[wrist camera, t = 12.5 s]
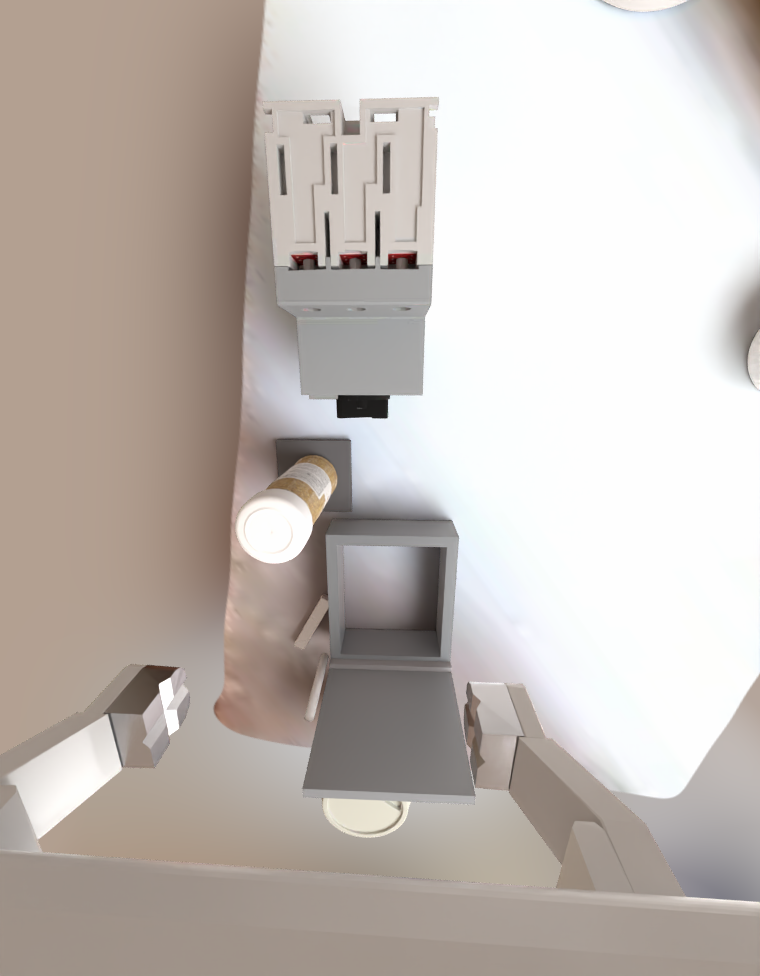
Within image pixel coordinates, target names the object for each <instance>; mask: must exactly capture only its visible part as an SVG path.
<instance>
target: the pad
mask: <svg viewBox="0 0 760 976" xmlns="http://www.w3.org/2000/svg"><path fill="white" fill-rule="evenodd" d="M276 451H277V464H278V476H279V477H280V476H281V475H282V474H284V473H285V472H286V471H287V470H288V469H290V468H291V467H292V466H294V465H295V463H296V462H297V461H298V460H299V459H301V458H303V457H305V456H310V455H317V456H320V457H323V458H325V459H326V460H328V461H329V462H330V463H331V464H332V465H333V467H334V468H335V471H336V474H337V485H336V488H335V490H334V492H333V493H332V494H331V495H330V498H329V500H328V502H327V503H326V505H325V507H324V509H323V510H322V511H330V512H352V475H351V440H285V439H278V440H276Z"/></svg>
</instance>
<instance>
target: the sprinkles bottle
mask: <svg viewBox="0 0 760 976" xmlns="http://www.w3.org/2000/svg"><path fill="white" fill-rule="evenodd" d="M336 485H337V474H336V471H335V468H334V467H333V465H332V464H331V463H330V462H329V461H328V460H326V459H325V458H323V457H320V456H317V455H310V456H305V457H303V458H301V459H299V460H298V461H297V462H296V463H295V465H294V466H292V467H291V468H290V469H288V470H287V471H286V472H285V473H284V474H282V475H281V476H280V477H279V478H277V479H276V480H275V481H274V482H273V483H271V484H270V485H269V487H268V488H267V489H266V490H264V491H261V492H259V493H257V494H256V495H254V496H253V497H252V498H251V499H250V500H248V501H247V502H246V503H245V504H244V505H243V506H242V508H241V509H240V511H239V512H238V514H237V517H236V521H235V533H236V537H237V539H238V541H239V543H240V545H241V547H242V548H243V549H244V550H245V551H246V552H247V553H248V554H249V555H250V556H252V557H253V558H255V559H257V560H259V561H262V562H265V563H282V562H286V561H289V560H291V559H293V558H294V557H296V556H297V555H298V554H299V553H300V552H301V551H302V549H303V548H304V546H305V544H306V543H307V541H308V539H309V537H310V535H311V532H312V527H313V525H314V523H315V521H316V520H317V518H318V517H319V516H320V514H321V512H322V510H323V509H324V507H325V505H326V503H327V502H328V500H329V498H330V495H331V494H332V493H333V492H334V490H335V488H336Z"/></svg>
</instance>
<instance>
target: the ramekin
mask: <svg viewBox="0 0 760 976" xmlns="http://www.w3.org/2000/svg"><path fill="white" fill-rule="evenodd" d="M748 371H749V375H750V378H751V380H752V382H753V384H754V385H755V386H756V388H758V389H759V390H760V329H759V330H758V332H757V333H756V335H755V337H754V339H753V341H752V343H751V346H750V349H749V353H748Z"/></svg>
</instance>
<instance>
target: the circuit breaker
mask: <svg viewBox="0 0 760 976" xmlns="http://www.w3.org/2000/svg"><path fill="white" fill-rule="evenodd" d="M262 104H263V110H264V112H265V114H272V120H273V132H265V145H266V159H267V173H268V187H269V201H270V215H271V229H272V243H273V257H274V266H275V267H274V271H275V284H276V298H277V305H278V306H279V307H281V308H282V309H284V310H285V311H287V312H289V313H290V314H292V315H293V316H295V317H296V319H297V334H298V350H299V366H300V383H301V395H309V399H336V401H337V418H359V417H372V418H387V417H388V399H390V395H422V394H423V363H424V332H425V316H426V314H427V312H428V310H429V308H430V306H431V298H432V270H433V243H434V215H435V187H436V160H437V132H438V128H435V117H429V110H438V104H439V97H419V98H382V99H360V121H345V118H344V114H343V110H342V106H341V102H340V100H307V101H270V102H262ZM388 113H396V122H374V114H388ZM310 115H329V116H330V121H331V123H317V124H313V123H312V120H311V117H310Z"/></svg>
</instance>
